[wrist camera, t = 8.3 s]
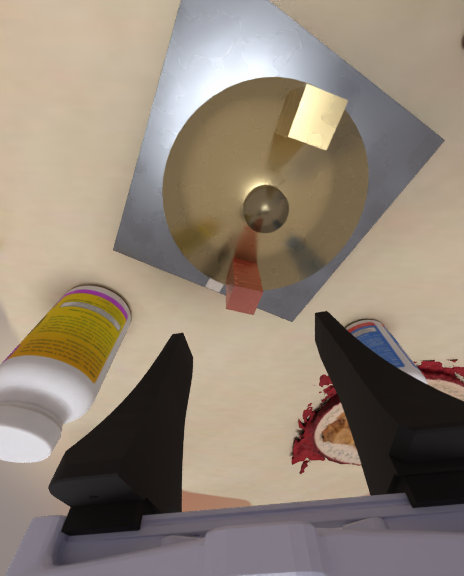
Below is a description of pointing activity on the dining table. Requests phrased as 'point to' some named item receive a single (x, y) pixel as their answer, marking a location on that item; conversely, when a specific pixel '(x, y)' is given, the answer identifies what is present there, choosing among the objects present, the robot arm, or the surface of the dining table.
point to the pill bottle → (384, 346)
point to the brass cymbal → (265, 185)
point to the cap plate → (245, 66)
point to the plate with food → (334, 427)
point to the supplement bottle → (58, 371)
